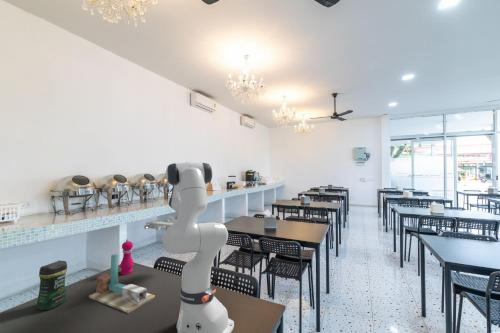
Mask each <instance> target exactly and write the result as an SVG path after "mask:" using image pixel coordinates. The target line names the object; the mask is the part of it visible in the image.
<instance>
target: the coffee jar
mask: <svg viewBox="0 0 500 333" xmlns="http://www.w3.org/2000/svg"><path fill="white" fill-rule="evenodd" d="M67 270H68V263H67V261H65V260H57V261H55V262H51V263H48V264H46V265H42V266H41V267H39V273H38V277H39V283H40V284H39V288H38V289H39V290H38V296H37V302H36V309H37V310H39V311H47V310H52V309H54V308H56V307H57V306H59V305H61V304H63V303H64V302H65V301H66V298H67V297H66V296H67V294H66V293H67V292H66V274H67Z"/></svg>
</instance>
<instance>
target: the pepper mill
mask: <svg viewBox="0 0 500 333" xmlns="http://www.w3.org/2000/svg"><path fill="white" fill-rule="evenodd" d="M121 244H122V245H121V249H122V254H123V255H122V260H121V261H120V266H119V268H120V275H124V276H125V275H126V274H127V275H130V274H132V273H133V272H134V271H133V270H134V269H133V267H134V266H135V265H134V260H133V258H132V252H133V251H132V250H133V249H132V248H133V246H134V243H133V242H132V241H130V239H129V238H127V239H126V240H125V241H124V242H123V243H121ZM131 272H132V273H131ZM127 275H126V276H127Z"/></svg>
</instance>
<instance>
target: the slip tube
mask: <svg viewBox="0 0 500 333" xmlns="http://www.w3.org/2000/svg"><path fill="white" fill-rule="evenodd" d="M110 259H111V260H110V272H111V278H110V282H109V283H108V285H107V289H108V290H111V291H114V292H117V293H120V294H122V287H125V286H127V285H128V284H123V283H120V282H119V273H118V272H119V254H118V253H114V254H111V257H110ZM117 280H118V282H117Z"/></svg>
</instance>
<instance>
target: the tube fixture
mask: <svg viewBox="0 0 500 333" xmlns="http://www.w3.org/2000/svg"><path fill="white" fill-rule="evenodd" d="M110 278H111V271H110V272H108V273H106V274H103V275H100V276H98V277H96V292H94V293H91V294H89V295H88V298H89V299H92V300H93V301H96V302H99V303H101V304H103V305H106V306H109V307H112V308H114V309H117V310H120V311H122V312H124V313H127V314H129V313H131V312H133V311H135V310H136V309H138V308H140V307H142V306H143V305H145V304H146V303H148V302H150V301H152V300H153V299H156V295H154V294H152V293H149V292H148V289H147V288H146V287H142V286H139V285H136V284H132V283H130V284H129V283H128V284H126V285H127V286H125V287H122V294H120V293H117V292H114V291H111V290H108V289H107V285H108V283H109V282H110ZM117 282H118V283H119V279H118V280H117Z"/></svg>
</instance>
